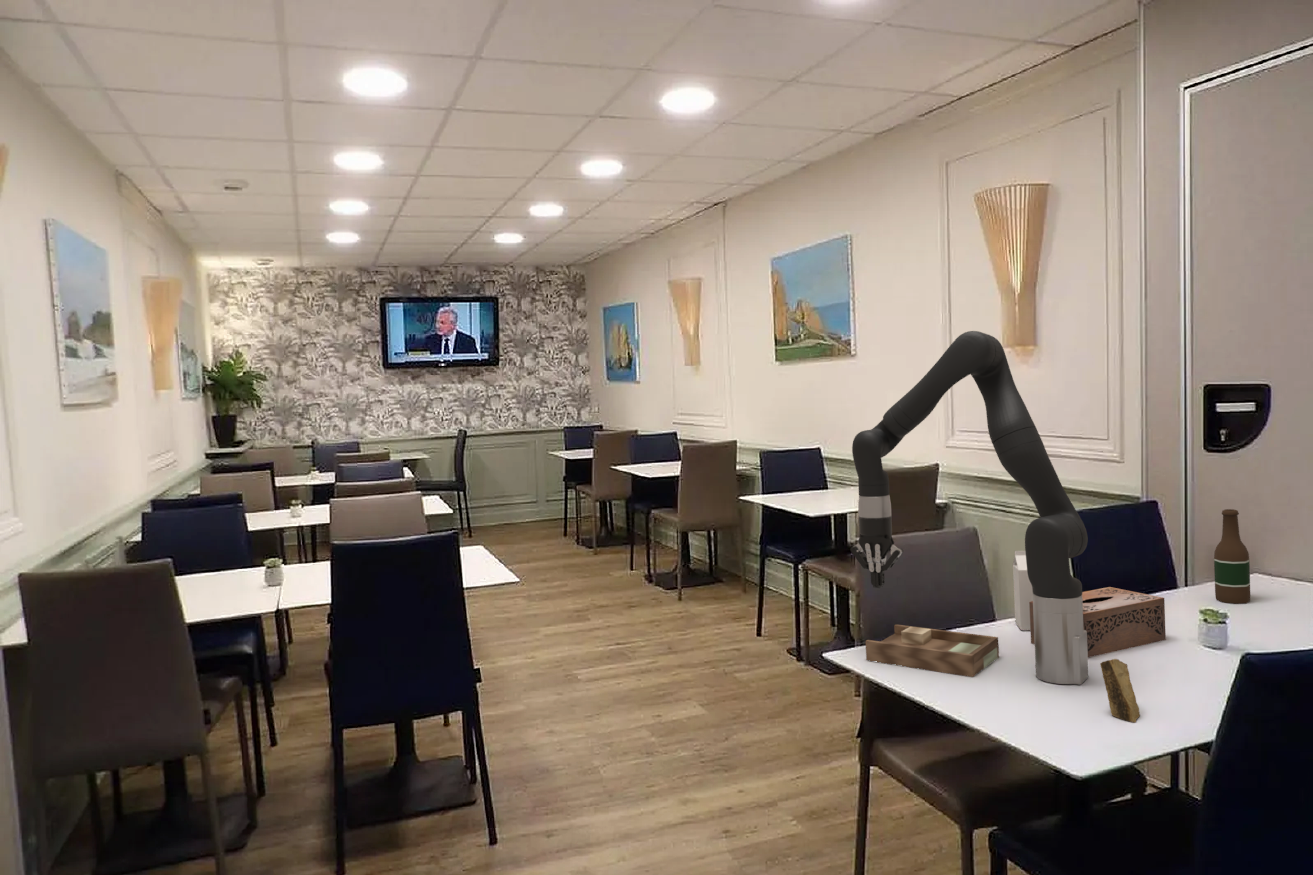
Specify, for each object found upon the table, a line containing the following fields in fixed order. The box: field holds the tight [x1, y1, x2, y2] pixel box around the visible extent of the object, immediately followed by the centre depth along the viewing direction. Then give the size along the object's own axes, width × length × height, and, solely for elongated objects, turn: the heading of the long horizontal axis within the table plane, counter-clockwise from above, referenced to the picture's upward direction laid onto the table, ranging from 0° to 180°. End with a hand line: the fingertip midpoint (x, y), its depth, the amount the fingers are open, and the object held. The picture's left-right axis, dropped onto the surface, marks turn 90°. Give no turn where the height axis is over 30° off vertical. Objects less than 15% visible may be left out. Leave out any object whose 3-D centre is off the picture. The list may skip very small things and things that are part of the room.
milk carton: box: [1012, 550, 1033, 631], centre depth 218 cm, size 7×7×19 cm
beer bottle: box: [1213, 508, 1251, 605], centre depth 231 cm, size 8×8×24 cm
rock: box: [1099, 658, 1141, 724], centre depth 160 cm, size 11×9×10 cm
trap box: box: [865, 623, 1000, 678], centre depth 197 cm, size 24×16×4 cm, turn 50°
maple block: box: [901, 626, 932, 645], centre depth 203 cm, size 5×5×2 cm
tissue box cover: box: [1029, 586, 1167, 659], centre depth 203 cm, size 26×14×10 cm, turn 113°
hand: (877, 587), depth 209 cm, fingers closed
